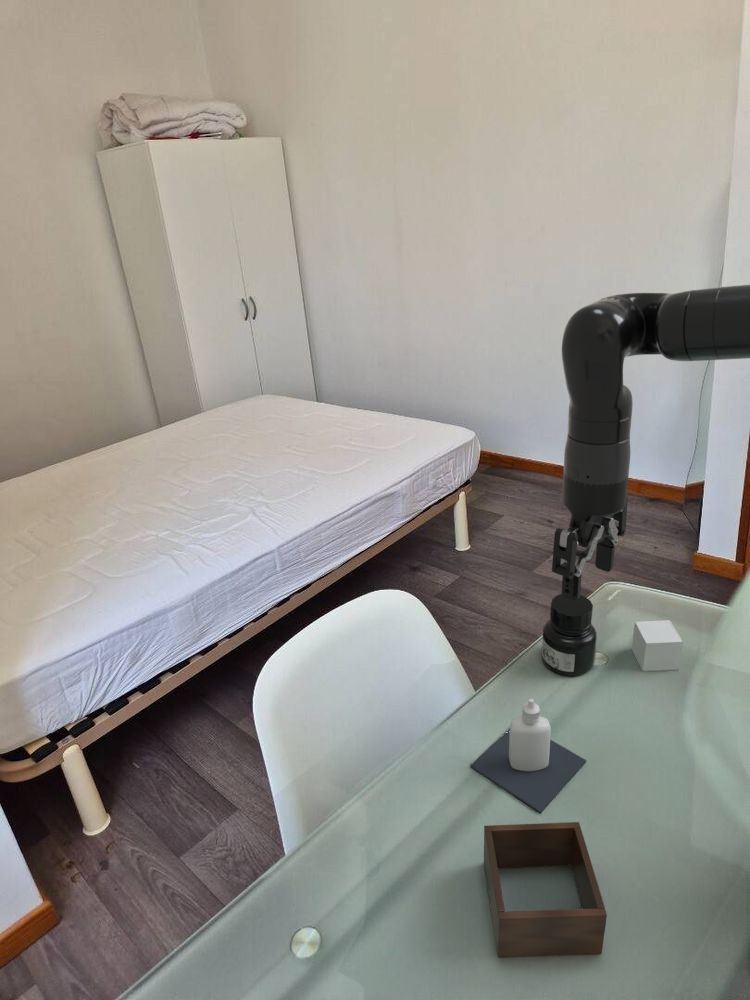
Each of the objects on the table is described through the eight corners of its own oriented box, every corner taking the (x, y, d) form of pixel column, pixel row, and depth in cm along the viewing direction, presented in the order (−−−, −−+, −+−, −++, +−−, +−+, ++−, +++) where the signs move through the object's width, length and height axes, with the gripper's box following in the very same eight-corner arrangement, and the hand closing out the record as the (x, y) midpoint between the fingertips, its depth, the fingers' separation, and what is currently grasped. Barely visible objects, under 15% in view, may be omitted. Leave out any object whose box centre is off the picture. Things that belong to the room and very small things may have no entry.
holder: (575, 859, 87) (579, 821, 84) (601, 954, 77) (607, 915, 74) (483, 862, 87) (483, 825, 84) (497, 957, 77) (498, 918, 74)
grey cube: (642, 671, 117) (646, 643, 115) (631, 649, 123) (634, 621, 120) (678, 669, 117) (682, 641, 114) (665, 647, 122) (669, 619, 120)
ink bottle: (531, 650, 124) (533, 595, 119) (574, 638, 126) (578, 583, 121) (560, 684, 116) (564, 626, 110) (605, 671, 118) (612, 613, 113)
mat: (586, 762, 101) (586, 760, 101) (540, 813, 93) (540, 811, 93) (517, 722, 109) (517, 720, 108) (470, 767, 101) (470, 765, 101)
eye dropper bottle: (514, 746, 104) (516, 684, 98) (551, 758, 101) (555, 696, 96) (505, 767, 100) (506, 704, 95) (543, 780, 98) (547, 716, 93)
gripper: (594, 498, 76) (586, 618, 83) (652, 456, 85) (640, 569, 92) (536, 481, 81) (532, 597, 88) (596, 444, 89) (589, 551, 97)
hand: (587, 582), depth 90 cm, fingers open, 8 cm apart
